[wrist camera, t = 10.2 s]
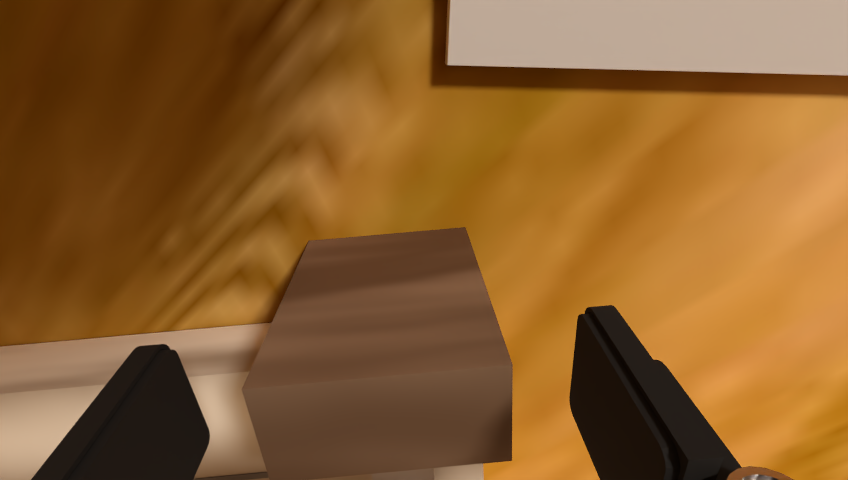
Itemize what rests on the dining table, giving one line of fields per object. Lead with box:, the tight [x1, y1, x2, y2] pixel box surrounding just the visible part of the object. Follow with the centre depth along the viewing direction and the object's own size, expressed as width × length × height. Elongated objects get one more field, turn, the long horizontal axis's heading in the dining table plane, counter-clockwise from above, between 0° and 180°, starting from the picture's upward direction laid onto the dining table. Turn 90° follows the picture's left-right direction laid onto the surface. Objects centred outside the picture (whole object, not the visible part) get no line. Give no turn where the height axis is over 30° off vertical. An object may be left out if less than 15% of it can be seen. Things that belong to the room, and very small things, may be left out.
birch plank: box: [0, 323, 483, 480], centre depth 19 cm, size 10×20×3 cm, turn 94°
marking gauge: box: [242, 227, 512, 480], centre depth 16 cm, size 10×6×8 cm, turn 4°
